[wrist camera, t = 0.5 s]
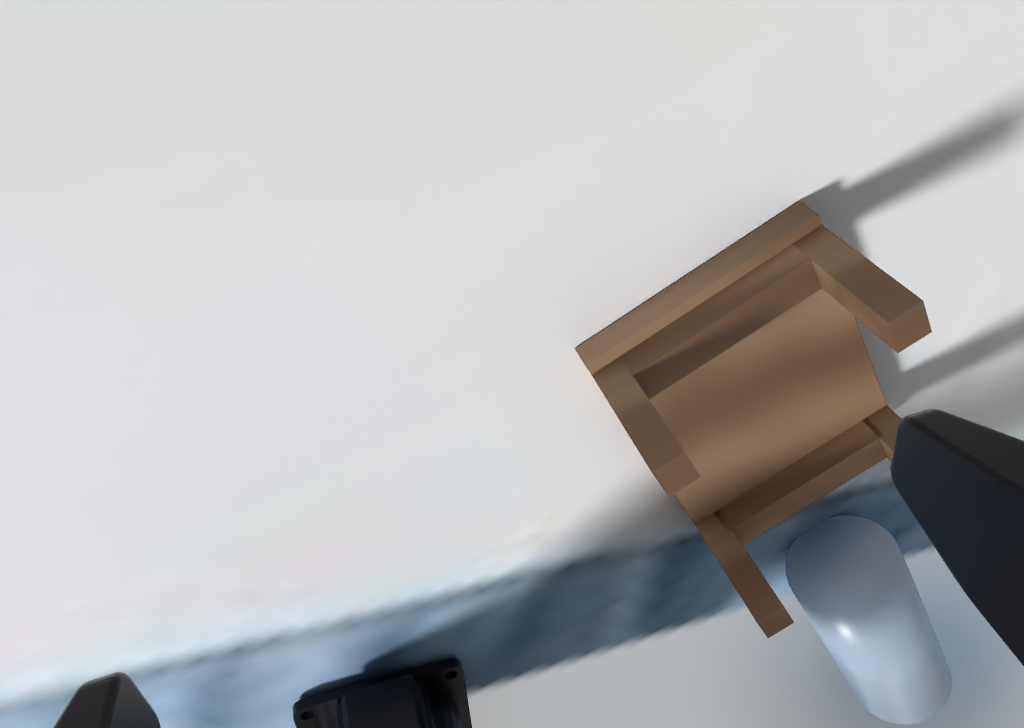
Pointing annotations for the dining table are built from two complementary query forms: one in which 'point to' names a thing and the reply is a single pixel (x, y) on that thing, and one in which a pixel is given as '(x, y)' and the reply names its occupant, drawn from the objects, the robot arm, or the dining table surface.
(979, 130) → the dining table surface
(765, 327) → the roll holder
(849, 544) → the cylinder
